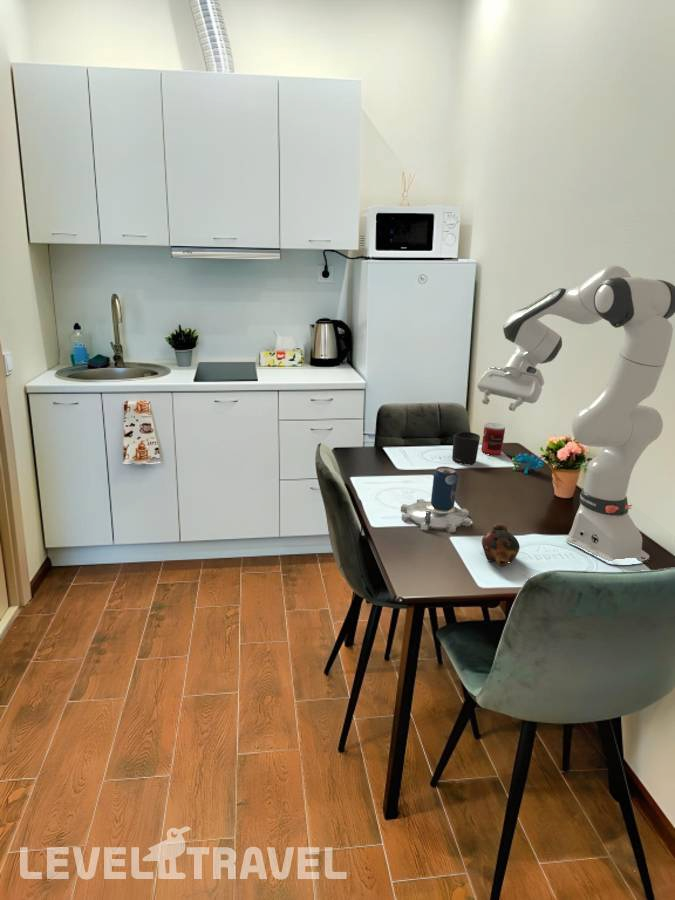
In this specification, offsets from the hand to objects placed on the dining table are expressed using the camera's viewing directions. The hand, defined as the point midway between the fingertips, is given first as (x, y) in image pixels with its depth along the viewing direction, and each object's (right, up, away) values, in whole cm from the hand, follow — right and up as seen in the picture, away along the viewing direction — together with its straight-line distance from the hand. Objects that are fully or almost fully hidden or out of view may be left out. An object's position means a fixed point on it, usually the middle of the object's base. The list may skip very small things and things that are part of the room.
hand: (497, 406), depth 212 cm
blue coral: (+18, -21, +34) cm, 44 cm away
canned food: (+10, -15, +52) cm, 55 cm away
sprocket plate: (-21, -33, -12) cm, 41 cm away
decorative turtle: (-8, -42, -35) cm, 55 cm away
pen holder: (-3, -18, +40) cm, 44 cm away
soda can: (-19, -31, -8) cm, 37 cm away
